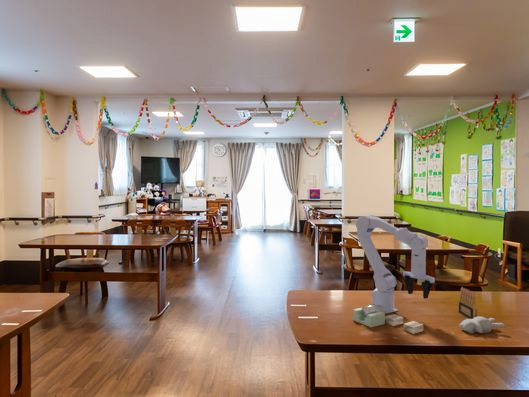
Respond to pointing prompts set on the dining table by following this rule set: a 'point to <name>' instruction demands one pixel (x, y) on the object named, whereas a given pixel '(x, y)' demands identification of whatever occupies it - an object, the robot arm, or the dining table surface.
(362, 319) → the v block
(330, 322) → the dining table surface
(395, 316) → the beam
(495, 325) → the bunny figurine
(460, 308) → the ammunition clip
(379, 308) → the axle
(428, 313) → the dining table surface
